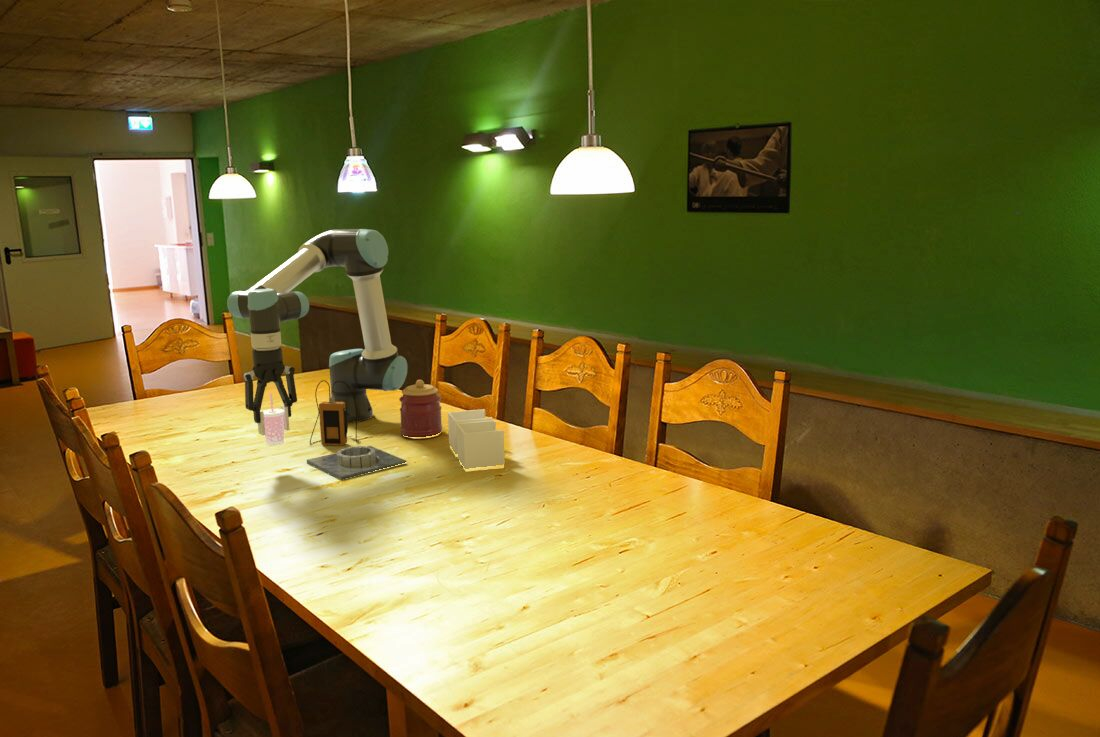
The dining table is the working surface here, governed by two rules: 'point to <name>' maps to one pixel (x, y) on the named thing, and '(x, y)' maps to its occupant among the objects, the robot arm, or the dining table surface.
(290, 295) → the robot arm
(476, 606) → the dining table surface
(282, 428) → the beverage cup
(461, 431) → the desk organizer
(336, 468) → the cup holder
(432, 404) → the canister
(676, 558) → the dining table surface
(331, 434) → the multimeter
